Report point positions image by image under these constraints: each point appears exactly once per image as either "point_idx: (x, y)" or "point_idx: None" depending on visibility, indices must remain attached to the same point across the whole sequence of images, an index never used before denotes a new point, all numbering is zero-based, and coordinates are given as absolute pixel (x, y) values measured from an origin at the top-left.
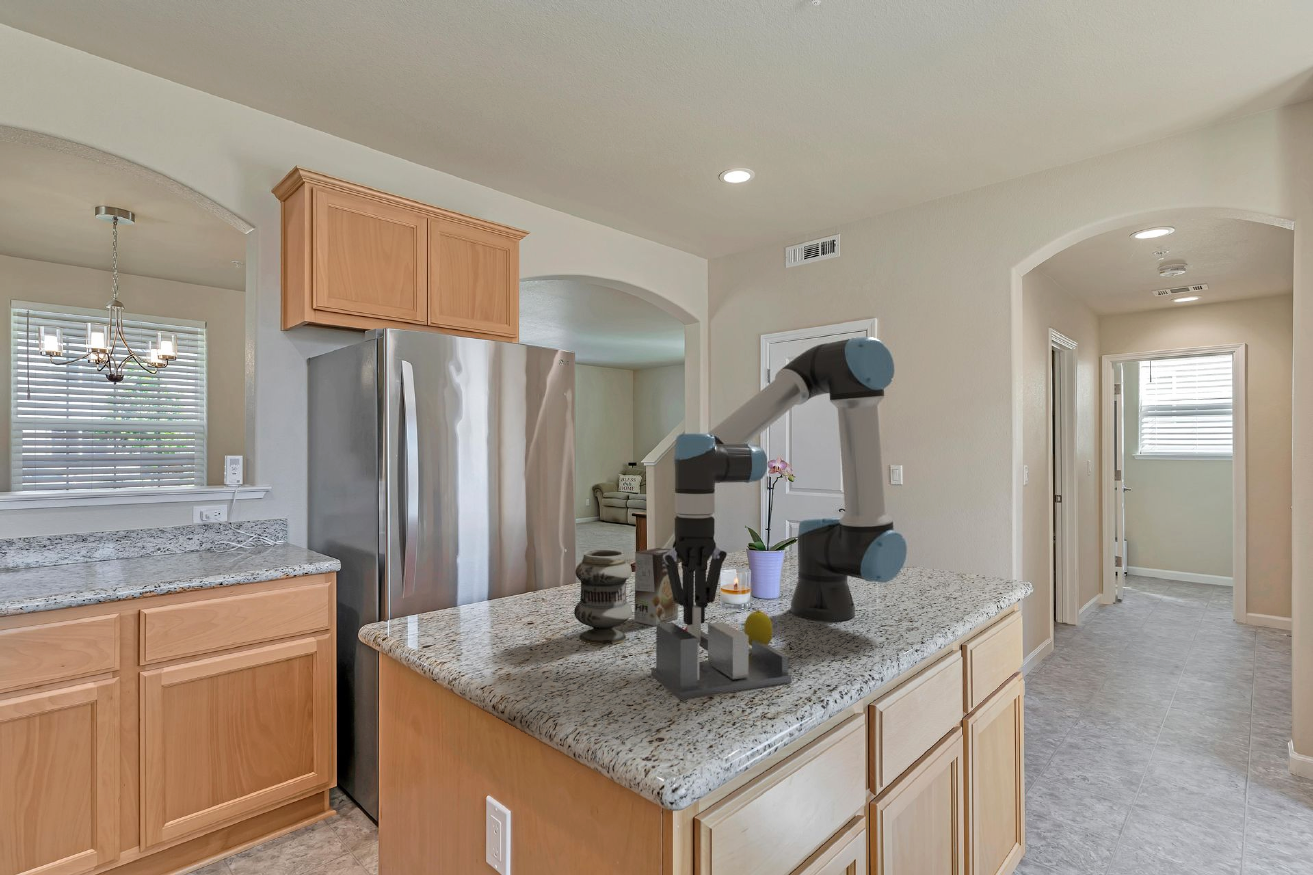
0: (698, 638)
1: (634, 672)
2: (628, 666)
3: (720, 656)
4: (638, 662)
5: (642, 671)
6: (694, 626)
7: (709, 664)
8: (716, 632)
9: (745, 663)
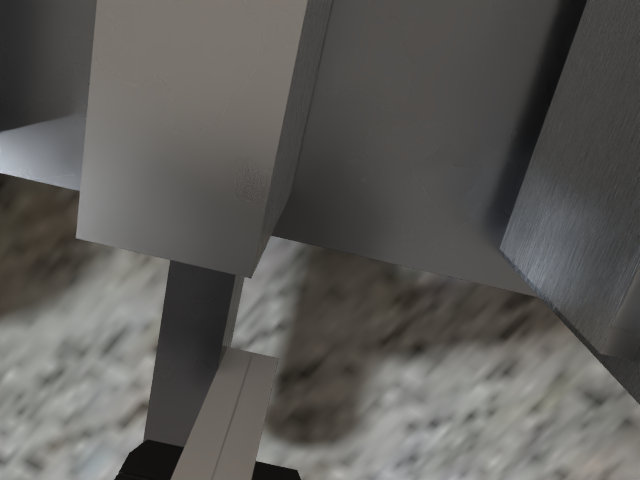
0: (238, 366)
1: None
2: (575, 447)
3: (323, 15)
4: (499, 462)
5: (572, 362)
6: (256, 429)
7: None
8: (293, 86)
9: None
